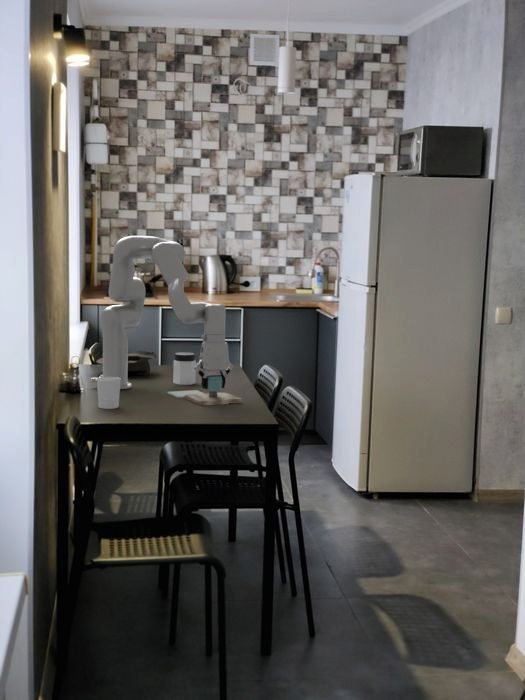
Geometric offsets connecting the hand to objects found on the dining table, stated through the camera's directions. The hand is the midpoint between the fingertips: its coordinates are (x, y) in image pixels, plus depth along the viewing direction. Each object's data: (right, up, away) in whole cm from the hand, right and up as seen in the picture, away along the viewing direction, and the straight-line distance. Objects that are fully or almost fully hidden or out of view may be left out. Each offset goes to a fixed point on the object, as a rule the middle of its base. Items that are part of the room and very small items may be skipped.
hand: (213, 387), depth 333 cm
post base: (0, -5, +1) cm, 5 cm away
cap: (0, -1, 0) cm, 1 cm away
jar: (-14, 0, +36) cm, 39 cm away
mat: (-10, -3, +11) cm, 15 cm away
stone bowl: (-40, +3, +56) cm, 69 cm away
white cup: (-35, -6, -17) cm, 39 cm away
